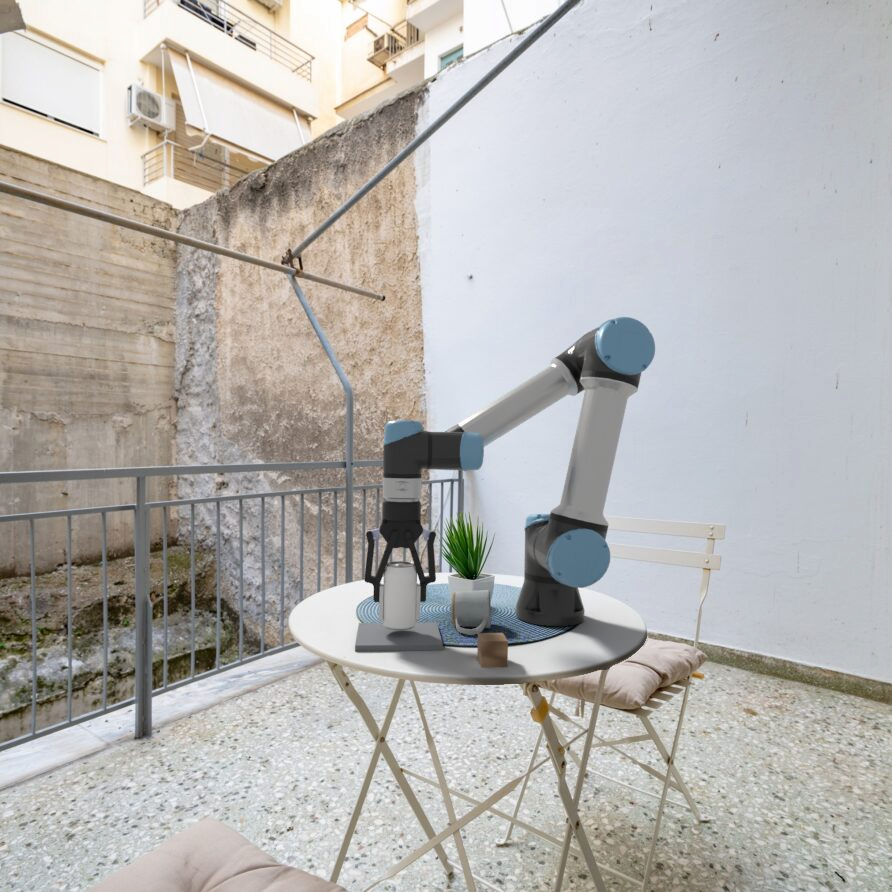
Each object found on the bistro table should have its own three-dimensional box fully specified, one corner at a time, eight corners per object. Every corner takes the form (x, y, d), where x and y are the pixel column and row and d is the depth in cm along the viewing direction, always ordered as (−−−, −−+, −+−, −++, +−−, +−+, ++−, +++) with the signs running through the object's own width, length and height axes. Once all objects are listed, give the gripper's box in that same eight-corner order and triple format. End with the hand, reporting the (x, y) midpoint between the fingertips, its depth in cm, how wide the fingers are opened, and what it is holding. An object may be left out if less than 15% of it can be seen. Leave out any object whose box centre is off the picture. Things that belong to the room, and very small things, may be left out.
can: (409, 619, 118) (411, 560, 118) (420, 628, 112) (421, 566, 112) (378, 622, 115) (380, 561, 115) (388, 632, 109) (389, 568, 109)
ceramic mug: (452, 620, 127) (453, 584, 127) (490, 622, 126) (491, 586, 126) (448, 636, 116) (449, 597, 116) (490, 638, 115) (490, 599, 115)
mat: (436, 627, 121) (436, 622, 121) (442, 650, 107) (443, 644, 107) (358, 627, 120) (358, 622, 120) (354, 651, 106) (355, 645, 106)
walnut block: (502, 658, 104) (502, 632, 104) (507, 667, 100) (507, 641, 100) (477, 658, 104) (477, 633, 104) (481, 667, 99) (481, 641, 99)
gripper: (350, 500, 109) (347, 624, 109) (453, 501, 111) (450, 623, 111) (352, 497, 117) (350, 613, 116) (449, 498, 118) (446, 612, 118)
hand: (399, 618), depth 114 cm, fingers closed on can, 6 cm apart
